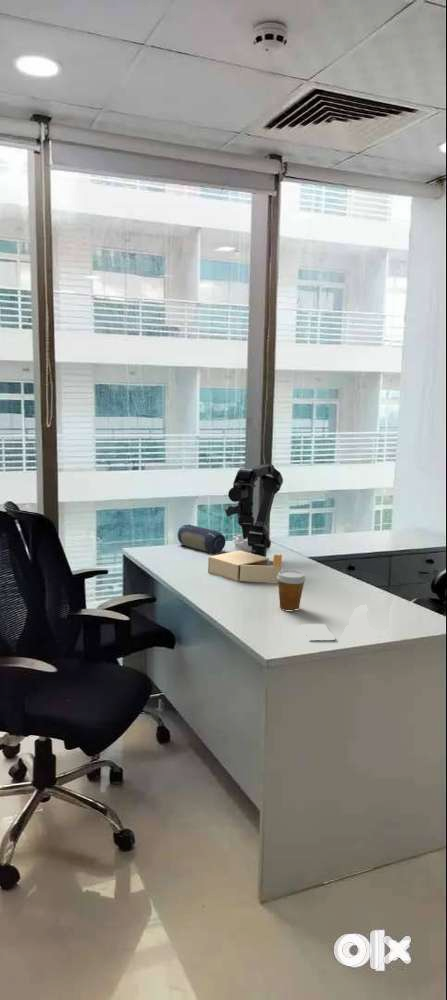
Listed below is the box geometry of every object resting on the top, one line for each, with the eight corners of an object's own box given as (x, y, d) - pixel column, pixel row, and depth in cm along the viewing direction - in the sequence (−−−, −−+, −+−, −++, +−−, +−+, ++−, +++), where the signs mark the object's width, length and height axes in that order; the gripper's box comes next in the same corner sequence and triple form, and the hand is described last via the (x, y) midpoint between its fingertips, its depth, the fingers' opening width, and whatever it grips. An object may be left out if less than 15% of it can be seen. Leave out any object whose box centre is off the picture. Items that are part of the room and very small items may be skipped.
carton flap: (280, 582, 250) (282, 554, 248) (280, 582, 249) (282, 555, 247) (239, 580, 249) (241, 553, 248) (239, 581, 248) (241, 553, 247)
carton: (239, 565, 273) (240, 550, 272) (268, 574, 261) (269, 558, 260) (208, 572, 260) (208, 556, 259) (237, 581, 249) (237, 565, 248)
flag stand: (266, 548, 306) (269, 484, 301) (252, 553, 295) (255, 487, 290) (241, 544, 312) (244, 481, 307) (227, 549, 301) (230, 484, 296)
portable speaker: (173, 545, 304) (173, 524, 303) (188, 542, 311) (189, 522, 310) (212, 556, 287) (212, 533, 286) (227, 552, 295) (228, 531, 293)
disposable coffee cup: (273, 604, 224) (274, 569, 222) (300, 604, 225) (302, 570, 223) (277, 613, 214) (279, 577, 213) (306, 613, 215) (308, 578, 213)
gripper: (226, 494, 274) (224, 531, 277) (226, 501, 256) (224, 540, 258) (252, 495, 274) (251, 532, 277) (254, 502, 256) (252, 542, 259)
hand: (244, 536), depth 268 cm, fingers open, 9 cm apart
